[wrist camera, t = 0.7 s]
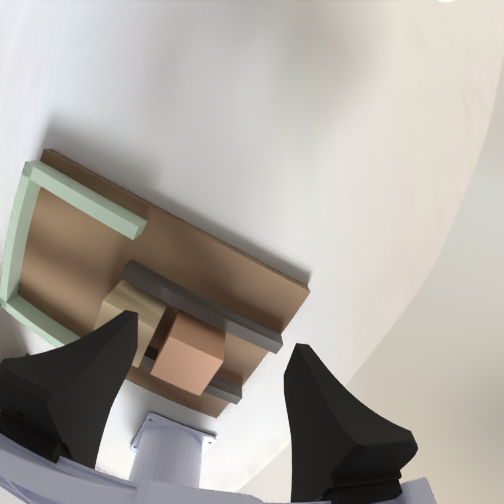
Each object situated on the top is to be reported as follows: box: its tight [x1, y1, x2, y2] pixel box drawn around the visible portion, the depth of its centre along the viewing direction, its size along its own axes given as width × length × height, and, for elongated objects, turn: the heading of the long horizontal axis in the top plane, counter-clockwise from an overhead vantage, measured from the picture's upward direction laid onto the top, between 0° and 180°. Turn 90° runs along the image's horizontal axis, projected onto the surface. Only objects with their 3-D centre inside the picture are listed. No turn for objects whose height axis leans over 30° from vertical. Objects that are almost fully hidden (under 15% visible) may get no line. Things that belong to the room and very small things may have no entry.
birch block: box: [94, 279, 168, 368], centre depth 20 cm, size 4×4×4 cm
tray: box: [0, 161, 148, 348], centre depth 20 cm, size 14×11×2 cm
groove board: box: [18, 149, 310, 418], centre depth 22 cm, size 16×24×2 cm, turn 60°
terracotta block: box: [150, 310, 226, 396], centre depth 21 cm, size 4×4×4 cm
